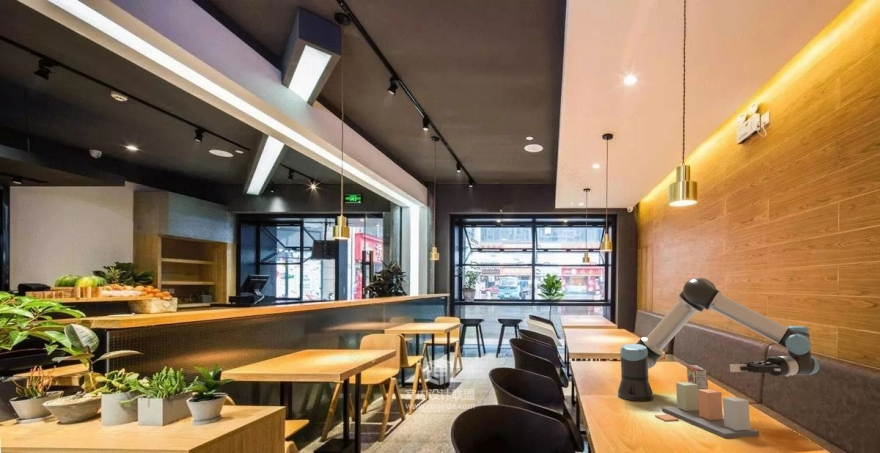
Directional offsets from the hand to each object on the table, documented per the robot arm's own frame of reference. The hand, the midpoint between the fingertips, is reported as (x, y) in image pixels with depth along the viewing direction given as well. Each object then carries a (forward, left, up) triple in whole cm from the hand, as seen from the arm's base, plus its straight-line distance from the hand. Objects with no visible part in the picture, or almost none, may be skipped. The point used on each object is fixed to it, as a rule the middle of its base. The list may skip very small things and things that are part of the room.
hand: (731, 368), depth 178 cm
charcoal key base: (0, -12, -20) cm, 23 cm away
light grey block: (+12, -10, -18) cm, 24 cm away
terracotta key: (0, -10, -18) cm, 21 cm away
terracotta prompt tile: (-7, -24, -20) cm, 32 cm away
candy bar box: (-20, +2, -20) cm, 29 cm away
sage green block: (-12, -10, -18) cm, 24 cm away
